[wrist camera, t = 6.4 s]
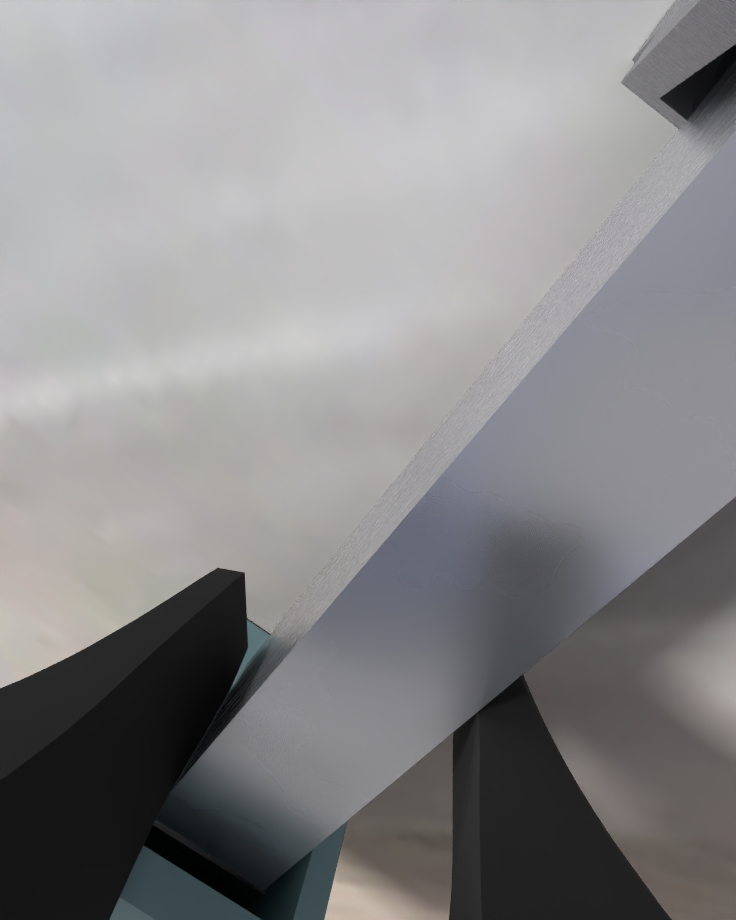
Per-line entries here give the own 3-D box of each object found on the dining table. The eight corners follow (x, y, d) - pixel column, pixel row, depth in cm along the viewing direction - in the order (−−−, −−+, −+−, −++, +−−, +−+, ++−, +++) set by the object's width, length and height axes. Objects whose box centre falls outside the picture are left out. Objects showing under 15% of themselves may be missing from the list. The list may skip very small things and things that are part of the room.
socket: (374, 705, 15) (302, 1009, 9) (285, 791, 17) (181, 1083, 11) (220, 602, 15) (45, 852, 9) (148, 703, 17) (-31, 958, 11)
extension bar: (1009, 92, 6) (1334, 11, 4) (281, 792, 14) (236, 918, 11) (828, -64, 6) (1052, -249, 4) (187, 732, 13) (121, 846, 11)
